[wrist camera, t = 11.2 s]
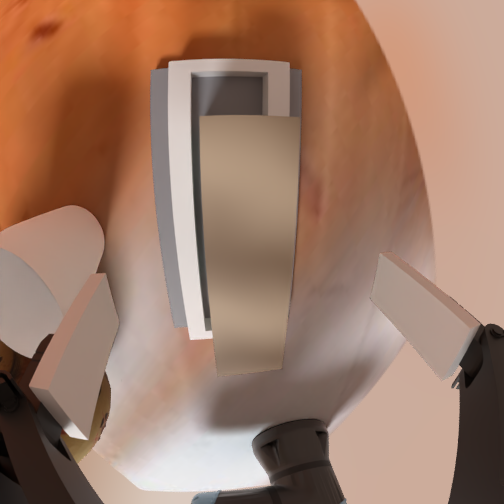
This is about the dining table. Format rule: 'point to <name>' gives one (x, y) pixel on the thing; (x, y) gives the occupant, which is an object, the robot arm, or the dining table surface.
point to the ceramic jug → (16, 366)
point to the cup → (44, 272)
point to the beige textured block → (249, 235)
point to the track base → (188, 160)
